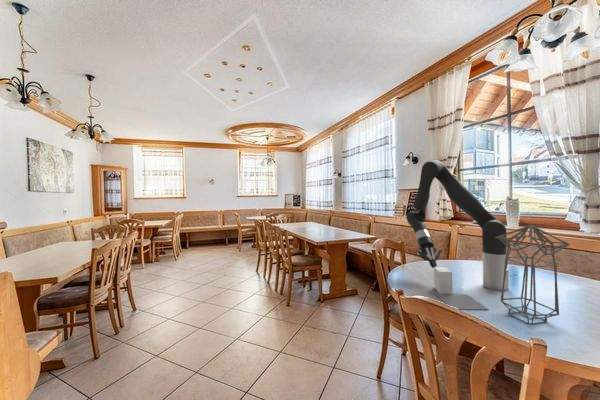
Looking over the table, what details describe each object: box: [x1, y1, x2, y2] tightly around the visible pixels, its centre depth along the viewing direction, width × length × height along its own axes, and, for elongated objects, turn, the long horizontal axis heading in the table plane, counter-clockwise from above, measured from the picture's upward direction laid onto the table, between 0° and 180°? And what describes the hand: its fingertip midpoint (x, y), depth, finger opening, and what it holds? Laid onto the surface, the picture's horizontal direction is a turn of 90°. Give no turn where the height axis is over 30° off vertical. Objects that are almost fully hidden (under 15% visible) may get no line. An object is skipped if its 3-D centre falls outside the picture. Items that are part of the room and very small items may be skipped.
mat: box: [434, 293, 489, 311], centre depth 108 cm, size 14×15×1 cm
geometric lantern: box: [496, 225, 570, 325], centre depth 92 cm, size 16×16×35 cm
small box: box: [433, 266, 454, 294], centre depth 121 cm, size 8×6×10 cm
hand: (434, 267), depth 129 cm, fingers closed
